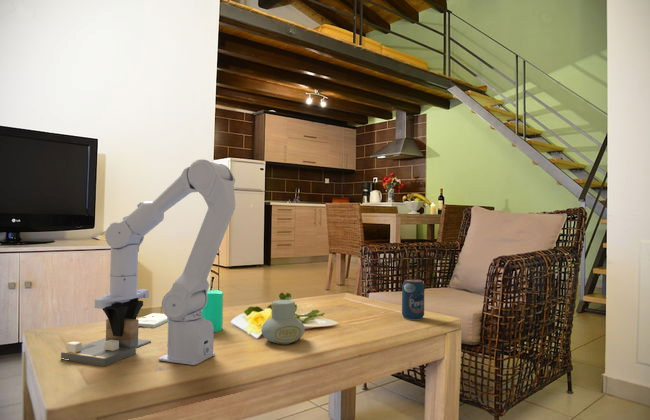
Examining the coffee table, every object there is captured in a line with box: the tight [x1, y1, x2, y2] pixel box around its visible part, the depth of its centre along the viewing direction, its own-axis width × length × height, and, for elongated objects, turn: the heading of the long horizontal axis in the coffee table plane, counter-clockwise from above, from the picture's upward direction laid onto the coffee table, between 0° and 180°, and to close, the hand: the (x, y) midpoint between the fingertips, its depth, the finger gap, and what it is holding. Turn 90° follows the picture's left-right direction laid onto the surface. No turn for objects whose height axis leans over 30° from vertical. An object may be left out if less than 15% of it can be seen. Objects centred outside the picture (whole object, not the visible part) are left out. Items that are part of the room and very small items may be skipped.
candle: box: [202, 289, 224, 333], centre depth 122 cm, size 6×6×12 cm
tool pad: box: [94, 337, 152, 349], centre depth 108 cm, size 12×6×1 cm, turn 72°
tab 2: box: [105, 340, 119, 351], centre depth 98 cm, size 2×2×2 cm
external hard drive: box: [136, 312, 168, 329], centre depth 130 cm, size 2×8×12 cm
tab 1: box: [66, 340, 83, 353], centre depth 96 cm, size 2×2×2 cm
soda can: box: [401, 278, 425, 321], centre depth 139 cm, size 7×7×12 cm
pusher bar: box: [105, 318, 139, 349], centre depth 101 cm, size 7×2×6 cm, turn 72°
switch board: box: [60, 341, 137, 367], centre depth 98 cm, size 12×9×2 cm
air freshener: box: [260, 299, 306, 345], centre depth 112 cm, size 11×8×10 cm
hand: (122, 334), depth 101 cm, fingers open, 2 cm apart
